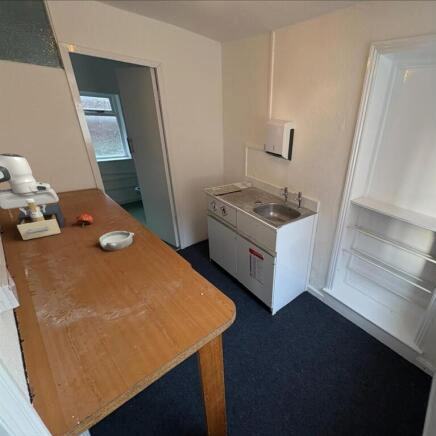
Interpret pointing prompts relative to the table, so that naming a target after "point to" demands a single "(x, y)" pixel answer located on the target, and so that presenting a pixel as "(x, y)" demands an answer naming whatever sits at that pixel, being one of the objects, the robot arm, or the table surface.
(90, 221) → the red mushroom
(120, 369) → the table surface
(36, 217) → the sprinkles bottle
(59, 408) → the table surface
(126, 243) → the dish
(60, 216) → the cabinet
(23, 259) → the table surface
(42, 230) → the drawer
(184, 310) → the table surface
